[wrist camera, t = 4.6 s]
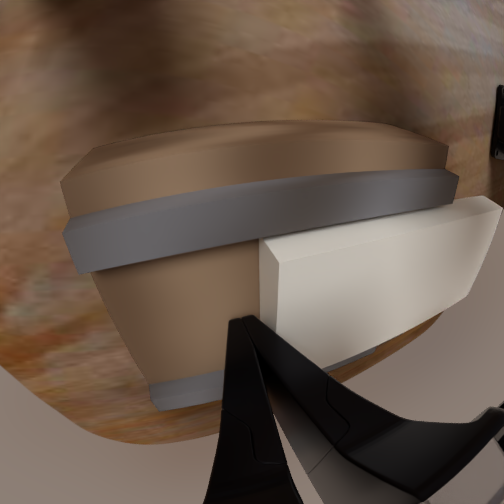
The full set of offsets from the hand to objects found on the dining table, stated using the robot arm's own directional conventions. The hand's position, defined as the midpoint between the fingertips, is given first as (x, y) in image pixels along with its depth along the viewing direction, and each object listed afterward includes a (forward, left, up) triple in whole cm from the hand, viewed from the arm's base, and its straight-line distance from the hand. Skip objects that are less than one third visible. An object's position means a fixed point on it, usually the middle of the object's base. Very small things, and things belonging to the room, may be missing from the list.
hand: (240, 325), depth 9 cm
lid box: (-2, 0, -5) cm, 5 cm away
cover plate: (-7, 0, -1) cm, 7 cm away
